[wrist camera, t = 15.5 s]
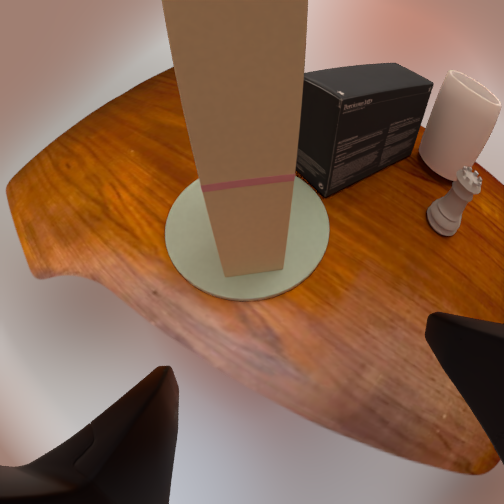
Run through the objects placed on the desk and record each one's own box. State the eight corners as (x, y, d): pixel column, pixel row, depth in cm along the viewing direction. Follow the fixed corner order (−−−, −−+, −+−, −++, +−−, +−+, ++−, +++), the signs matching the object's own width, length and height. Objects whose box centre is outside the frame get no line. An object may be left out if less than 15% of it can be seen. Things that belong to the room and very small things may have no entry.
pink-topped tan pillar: (283, 269, 24) (310, -48, 5) (224, 277, 24) (154, -39, 4) (274, 231, 26) (282, -45, 7) (220, 238, 26) (169, -36, 6)
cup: (414, 174, 31) (453, 83, 18) (412, 140, 34) (440, 61, 22) (465, 197, 29) (513, 118, 17) (458, 160, 33) (492, 89, 20)
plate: (292, 331, 22) (292, 329, 21) (136, 258, 26) (134, 255, 25) (345, 194, 29) (346, 191, 28) (216, 154, 33) (216, 150, 32)
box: (377, 129, 35) (395, 60, 25) (410, 156, 32) (438, 85, 22) (287, 163, 31) (292, 70, 21) (324, 200, 28) (345, 100, 18)
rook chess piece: (454, 244, 25) (491, 199, 18) (423, 228, 26) (456, 178, 19) (455, 216, 27) (486, 172, 20) (426, 201, 28) (454, 152, 21)
